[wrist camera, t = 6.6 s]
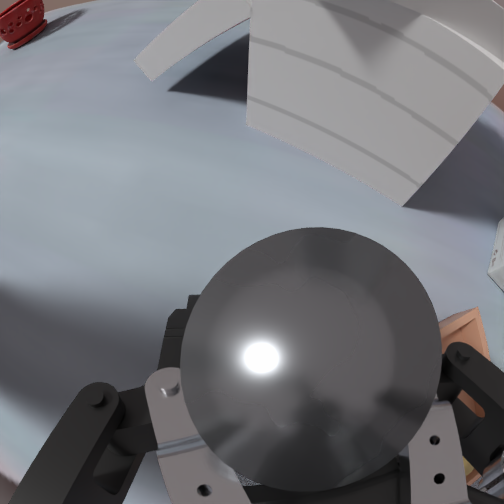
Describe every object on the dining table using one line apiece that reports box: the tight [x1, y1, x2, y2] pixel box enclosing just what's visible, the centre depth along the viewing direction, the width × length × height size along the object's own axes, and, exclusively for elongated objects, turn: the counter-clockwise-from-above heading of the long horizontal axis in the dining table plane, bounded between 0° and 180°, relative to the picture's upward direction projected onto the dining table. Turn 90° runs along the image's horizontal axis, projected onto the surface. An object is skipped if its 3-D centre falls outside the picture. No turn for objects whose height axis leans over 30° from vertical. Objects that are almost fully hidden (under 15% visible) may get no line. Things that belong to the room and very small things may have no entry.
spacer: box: [180, 227, 442, 492], centre depth 9 cm, size 5×5×11 cm
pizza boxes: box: [133, 0, 504, 207], centre depth 17 cm, size 19×30×18 cm, turn 59°
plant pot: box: [0, 0, 47, 49], centre depth 30 cm, size 13×13×12 cm
